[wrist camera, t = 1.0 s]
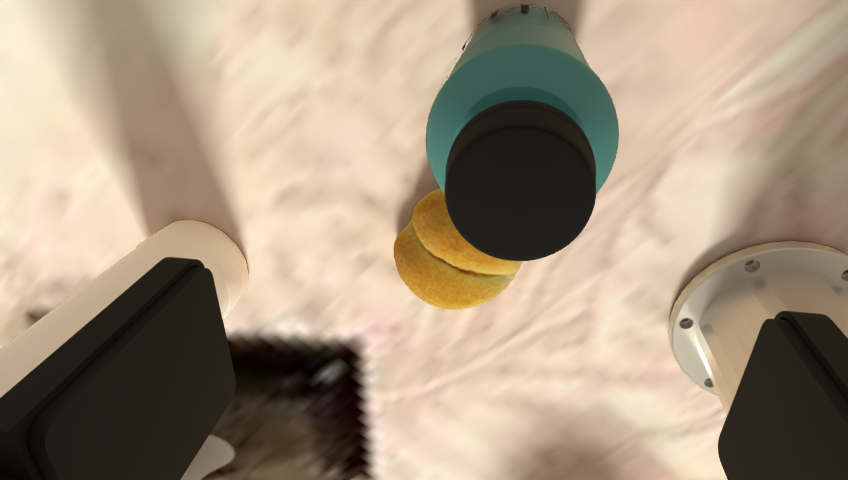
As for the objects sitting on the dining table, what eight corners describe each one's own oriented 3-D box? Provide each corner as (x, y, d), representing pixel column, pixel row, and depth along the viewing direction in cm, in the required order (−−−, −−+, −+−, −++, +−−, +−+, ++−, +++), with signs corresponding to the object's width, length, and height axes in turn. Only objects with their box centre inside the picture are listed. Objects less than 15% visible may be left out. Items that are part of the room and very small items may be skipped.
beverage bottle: (538, -26, 28) (560, -5, 11) (601, 76, 30) (706, 234, 13) (442, 49, 31) (337, 164, 14) (505, 140, 33) (485, 342, 16)
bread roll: (382, 261, 39) (368, 291, 35) (440, 161, 35) (430, 184, 31) (480, 314, 40) (475, 348, 36) (548, 222, 35) (551, 251, 32)
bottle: (268, 294, 42) (-163, 855, 16) (190, 314, 44) (-297, 831, 18) (216, 204, 39) (-427, 715, 13) (135, 232, 41) (-546, 709, 15)
